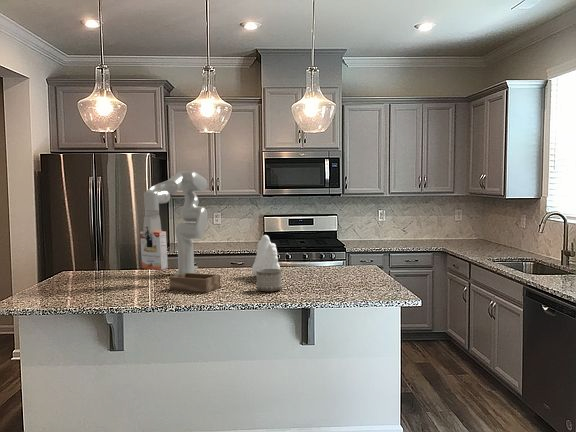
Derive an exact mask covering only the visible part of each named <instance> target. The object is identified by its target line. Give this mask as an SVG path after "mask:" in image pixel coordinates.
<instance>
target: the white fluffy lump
mask: <svg viewBox="0 0 576 432" xmlns="http://www.w3.org/2000/svg"><path fill="white" fill-rule="evenodd" d="M260 239H261V240H259V241H258V243H257V245H256V246H257V247H256V256H255V259H254V262H253V265H252V267H251V272H252V274H253V275H254V276H255V277H257V274H256V271H257V270H259V269H269V268H272V269H280V270H281V265H280V263H279V257H278V250H277V249H278V248H277V245H276V243H273V242H272V241H271V239H270V236H269V235H267V234H264V235H262V236H261V238H260Z"/></svg>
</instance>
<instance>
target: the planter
mask: <svg viewBox="0 0 576 432" xmlns="http://www.w3.org/2000/svg"><path fill="white" fill-rule="evenodd" d="M256 274H257V276H256V289H257V291H261V292H263V293H264V292H266V293H273V292H276V291H280V290H282V269H281V268H280V269H272V268H269V269H259V270H257V271H256Z"/></svg>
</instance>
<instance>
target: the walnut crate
mask: <svg viewBox="0 0 576 432" xmlns="http://www.w3.org/2000/svg"><path fill="white" fill-rule="evenodd" d="M219 289H221V274H212V273H211V274H210V273H198V272H197V273H182V274H179V275H176V274H175V275H172V276H170V277H169V290H170V291H171V292H173V291H174V292H184V293H194V294H195V293H196V294H197V293H199V294H208V293H212V292H214V291H216V290H219Z"/></svg>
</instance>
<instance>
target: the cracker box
mask: <svg viewBox="0 0 576 432" xmlns="http://www.w3.org/2000/svg"><path fill="white" fill-rule="evenodd" d="M143 233H144V230H142V231H140V232H139V235H140V237H139V238H140V255H141V269H145V270H156V271H163V270H168V269H169V263H168V260H169V259H168V245H167V243H168V241H167V239H168V238H167V231H155V232H153V234H152V238H151V240H152V247H147V240H146V238H145V237H144V235H143ZM148 234H149V233H148ZM149 237H150V236H149Z"/></svg>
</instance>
